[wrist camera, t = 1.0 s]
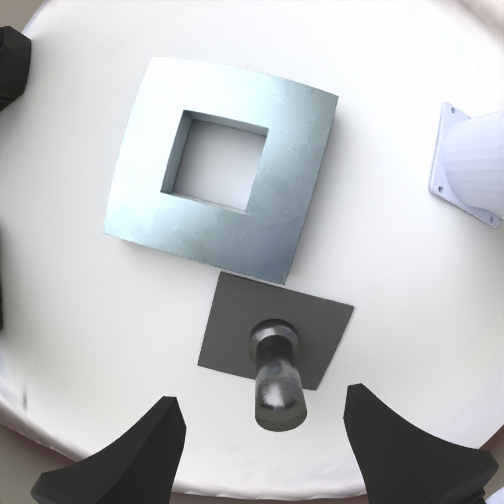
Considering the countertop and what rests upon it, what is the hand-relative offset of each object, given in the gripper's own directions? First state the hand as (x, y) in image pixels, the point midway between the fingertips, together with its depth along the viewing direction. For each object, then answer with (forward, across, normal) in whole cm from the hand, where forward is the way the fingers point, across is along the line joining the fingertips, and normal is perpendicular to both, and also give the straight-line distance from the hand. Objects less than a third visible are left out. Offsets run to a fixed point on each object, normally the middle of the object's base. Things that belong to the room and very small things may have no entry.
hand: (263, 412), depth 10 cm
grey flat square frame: (+10, +2, -11) cm, 15 cm away
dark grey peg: (+10, -1, +2) cm, 10 cm away
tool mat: (+10, -1, +2) cm, 10 cm away
